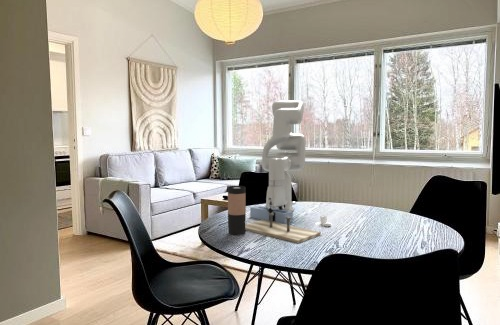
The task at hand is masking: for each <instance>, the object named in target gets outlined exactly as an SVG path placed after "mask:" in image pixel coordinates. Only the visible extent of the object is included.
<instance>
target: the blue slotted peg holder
mask: <svg viewBox="0 0 500 325" xmlns="http://www.w3.org/2000/svg"><path fill="white" fill-rule="evenodd" d="M249 208H250V209H249V212H250V214H249V217H250V218H252V219H253V218H254V219H259V220H266V221H269V215H268V214H269V213H268V210H267V209H266V207H265V206H263V205H254V206H250V207H249ZM271 209H273V208H271ZM274 213H275V221H274V222H275V223H280V224H285V225H287V219H286V217H291V219H290V224H291V223H293V218H294V217H293V215H294V211H292V212H291V211H285V210H280V209H275V211H274ZM272 222H273V221H272Z"/></svg>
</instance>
